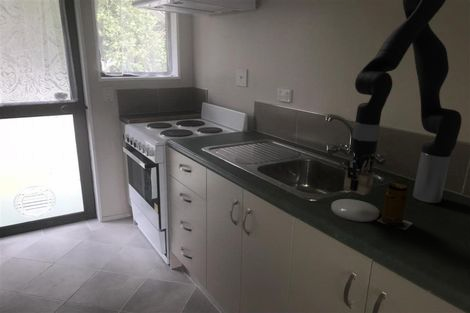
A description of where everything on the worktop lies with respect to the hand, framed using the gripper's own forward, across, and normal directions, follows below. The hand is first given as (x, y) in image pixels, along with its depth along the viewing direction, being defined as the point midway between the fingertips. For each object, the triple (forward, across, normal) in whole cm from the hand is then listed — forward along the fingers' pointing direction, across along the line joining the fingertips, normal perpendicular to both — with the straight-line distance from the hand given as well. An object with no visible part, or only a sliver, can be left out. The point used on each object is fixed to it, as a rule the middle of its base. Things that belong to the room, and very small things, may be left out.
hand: (357, 188), depth 111 cm
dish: (+8, 0, 0) cm, 8 cm away
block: (+1, 0, 0) cm, 1 cm away
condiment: (+8, -2, +12) cm, 15 cm away
